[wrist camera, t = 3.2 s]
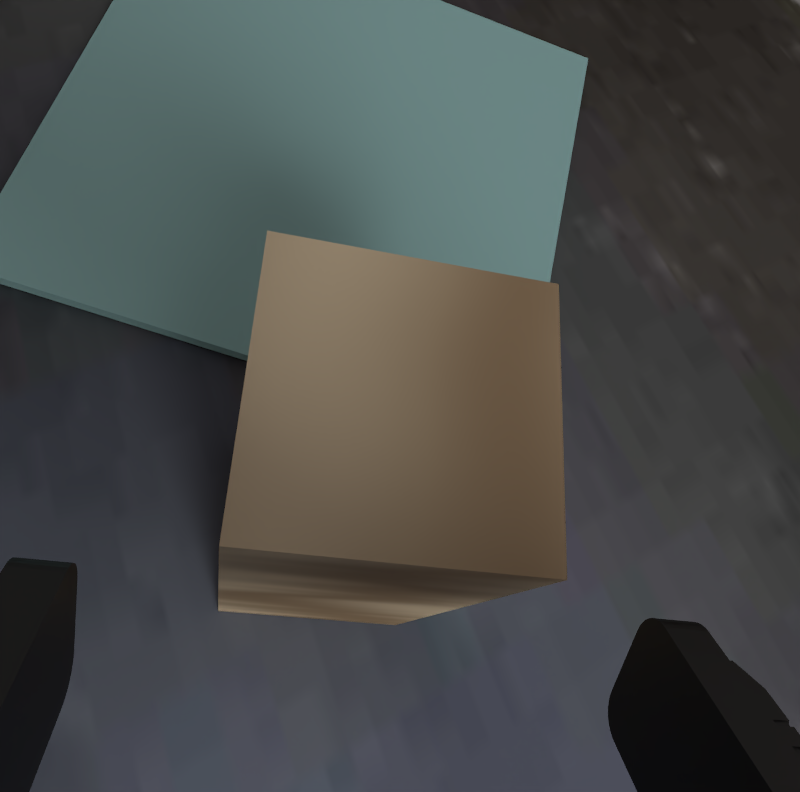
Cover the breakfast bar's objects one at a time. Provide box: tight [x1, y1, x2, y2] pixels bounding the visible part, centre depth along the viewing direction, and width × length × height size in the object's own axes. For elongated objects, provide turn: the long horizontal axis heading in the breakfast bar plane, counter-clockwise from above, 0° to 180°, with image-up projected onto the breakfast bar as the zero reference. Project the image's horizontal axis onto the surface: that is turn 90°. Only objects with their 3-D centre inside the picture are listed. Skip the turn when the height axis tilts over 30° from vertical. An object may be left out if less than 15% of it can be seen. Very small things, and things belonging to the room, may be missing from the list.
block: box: [218, 231, 567, 625], centre depth 14 cm, size 4×4×10 cm
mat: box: [0, 0, 588, 361], centre depth 23 cm, size 16×16×1 cm
